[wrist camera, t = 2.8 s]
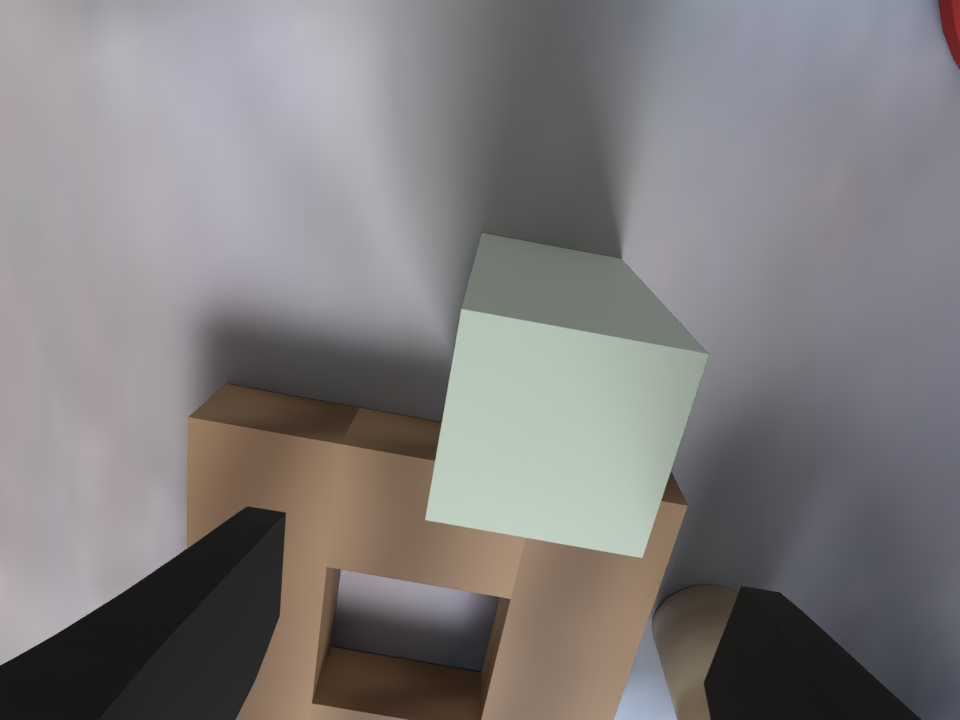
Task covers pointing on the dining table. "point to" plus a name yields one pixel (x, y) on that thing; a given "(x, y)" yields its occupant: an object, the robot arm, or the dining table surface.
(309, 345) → the dining table surface
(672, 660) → the birch dowel
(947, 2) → the canned food
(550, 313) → the square peg
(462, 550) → the socket block
